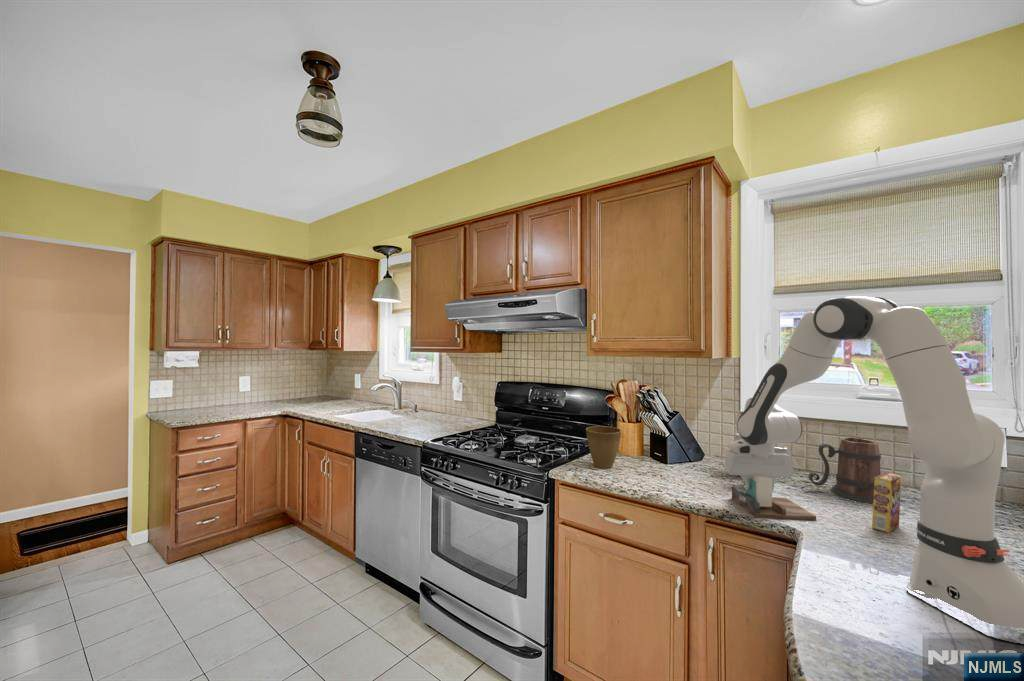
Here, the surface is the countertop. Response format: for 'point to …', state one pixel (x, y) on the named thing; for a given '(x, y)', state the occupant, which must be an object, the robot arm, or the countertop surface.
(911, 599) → the countertop surface
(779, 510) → the shelf board
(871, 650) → the countertop surface
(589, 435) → the plant pot
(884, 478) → the candy box
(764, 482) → the cream carton
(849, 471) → the tankard
